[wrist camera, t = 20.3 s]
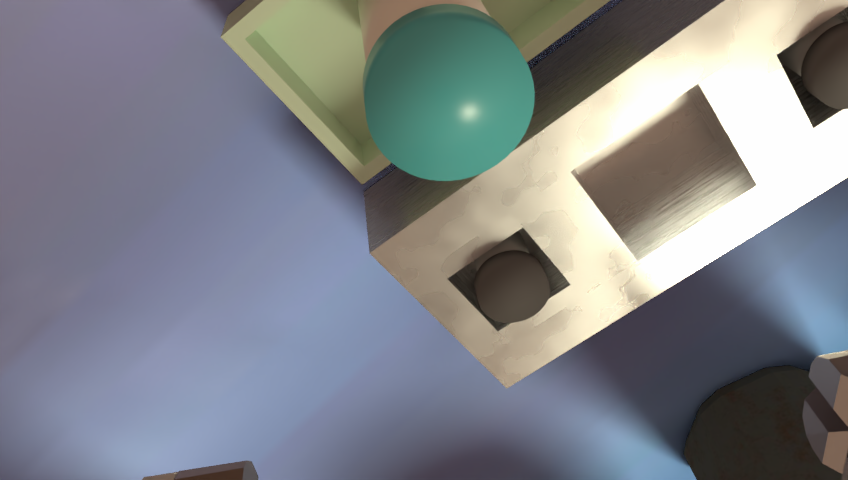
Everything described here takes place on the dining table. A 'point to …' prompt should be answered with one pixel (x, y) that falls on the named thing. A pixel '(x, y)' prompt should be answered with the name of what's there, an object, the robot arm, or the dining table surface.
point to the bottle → (756, 431)
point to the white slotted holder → (622, 172)
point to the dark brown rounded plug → (822, 62)
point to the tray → (357, 60)
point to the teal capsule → (442, 86)
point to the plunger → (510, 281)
